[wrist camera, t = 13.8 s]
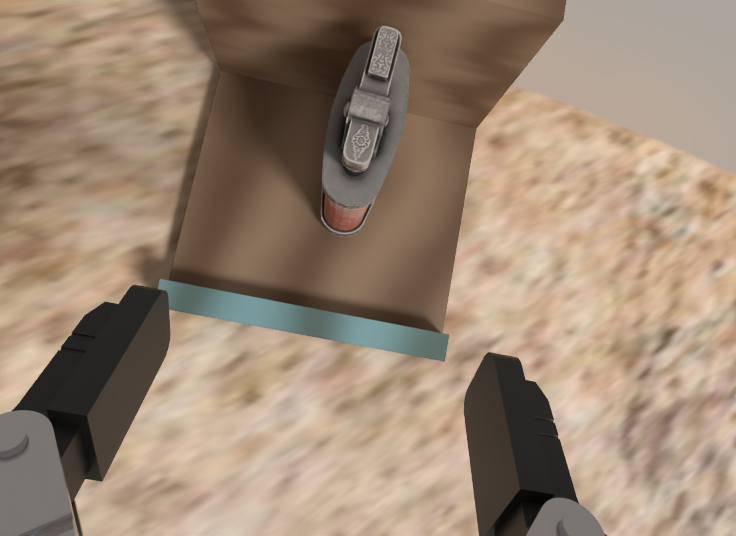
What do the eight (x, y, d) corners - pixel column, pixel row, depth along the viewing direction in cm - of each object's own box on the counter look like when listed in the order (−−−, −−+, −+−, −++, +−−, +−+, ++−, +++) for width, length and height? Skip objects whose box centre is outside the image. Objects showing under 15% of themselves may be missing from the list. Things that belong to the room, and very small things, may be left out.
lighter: (365, 243, 29) (391, 199, 19) (309, 228, 29) (307, 177, 19) (396, 118, 30) (435, 17, 21) (343, 103, 30) (356, -6, 20)
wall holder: (167, 308, 29) (62, 293, 17) (229, 56, 31) (175, -114, 19) (434, 358, 30) (512, 378, 18) (474, 113, 32) (568, -13, 20)
